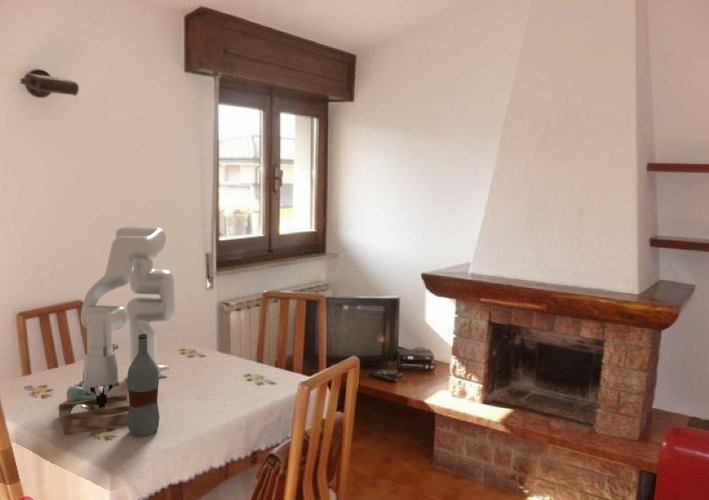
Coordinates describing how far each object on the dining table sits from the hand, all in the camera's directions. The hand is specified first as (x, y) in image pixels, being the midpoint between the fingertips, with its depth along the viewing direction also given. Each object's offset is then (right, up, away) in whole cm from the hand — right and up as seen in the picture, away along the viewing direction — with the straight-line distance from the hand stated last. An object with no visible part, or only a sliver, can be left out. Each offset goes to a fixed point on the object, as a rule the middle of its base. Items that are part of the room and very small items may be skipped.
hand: (101, 406), depth 189 cm
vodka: (+16, -6, -8) cm, 19 cm away
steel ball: (-5, -1, -4) cm, 6 cm away
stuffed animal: (-14, -2, +17) cm, 22 cm away
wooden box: (-1, -4, 0) cm, 4 cm away
